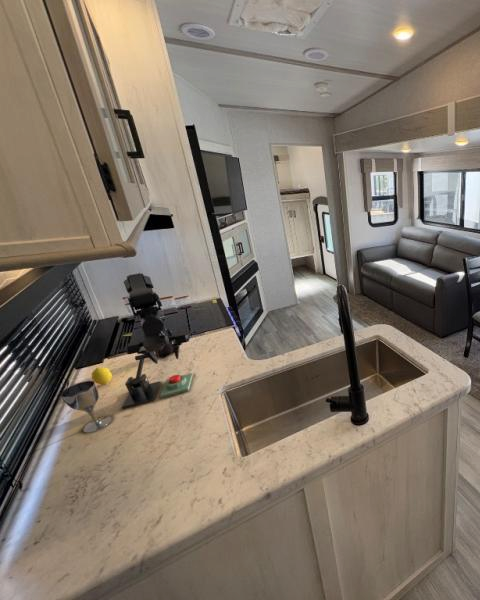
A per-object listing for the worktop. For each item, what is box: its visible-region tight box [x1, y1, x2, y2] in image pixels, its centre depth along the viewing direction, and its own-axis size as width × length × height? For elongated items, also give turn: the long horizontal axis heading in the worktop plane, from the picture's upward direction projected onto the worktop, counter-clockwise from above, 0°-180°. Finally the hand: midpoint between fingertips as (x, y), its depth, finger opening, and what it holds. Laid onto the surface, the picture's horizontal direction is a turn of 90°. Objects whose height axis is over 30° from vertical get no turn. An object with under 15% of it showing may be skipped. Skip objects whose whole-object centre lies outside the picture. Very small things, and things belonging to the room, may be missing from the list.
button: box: [168, 374, 181, 384], centre depth 120 cm, size 4×4×2 cm
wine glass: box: [60, 380, 112, 434], centre depth 101 cm, size 8×8×15 cm
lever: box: [131, 354, 150, 388], centre depth 119 cm, size 15×4×2 cm, turn 25°
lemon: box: [91, 366, 113, 385], centre depth 123 cm, size 6×6×8 cm
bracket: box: [121, 373, 161, 410], centre depth 116 cm, size 12×9×8 cm
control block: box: [159, 373, 194, 399], centre depth 121 cm, size 11×9×3 cm
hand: (167, 360), depth 117 cm, fingers open, 6 cm apart
